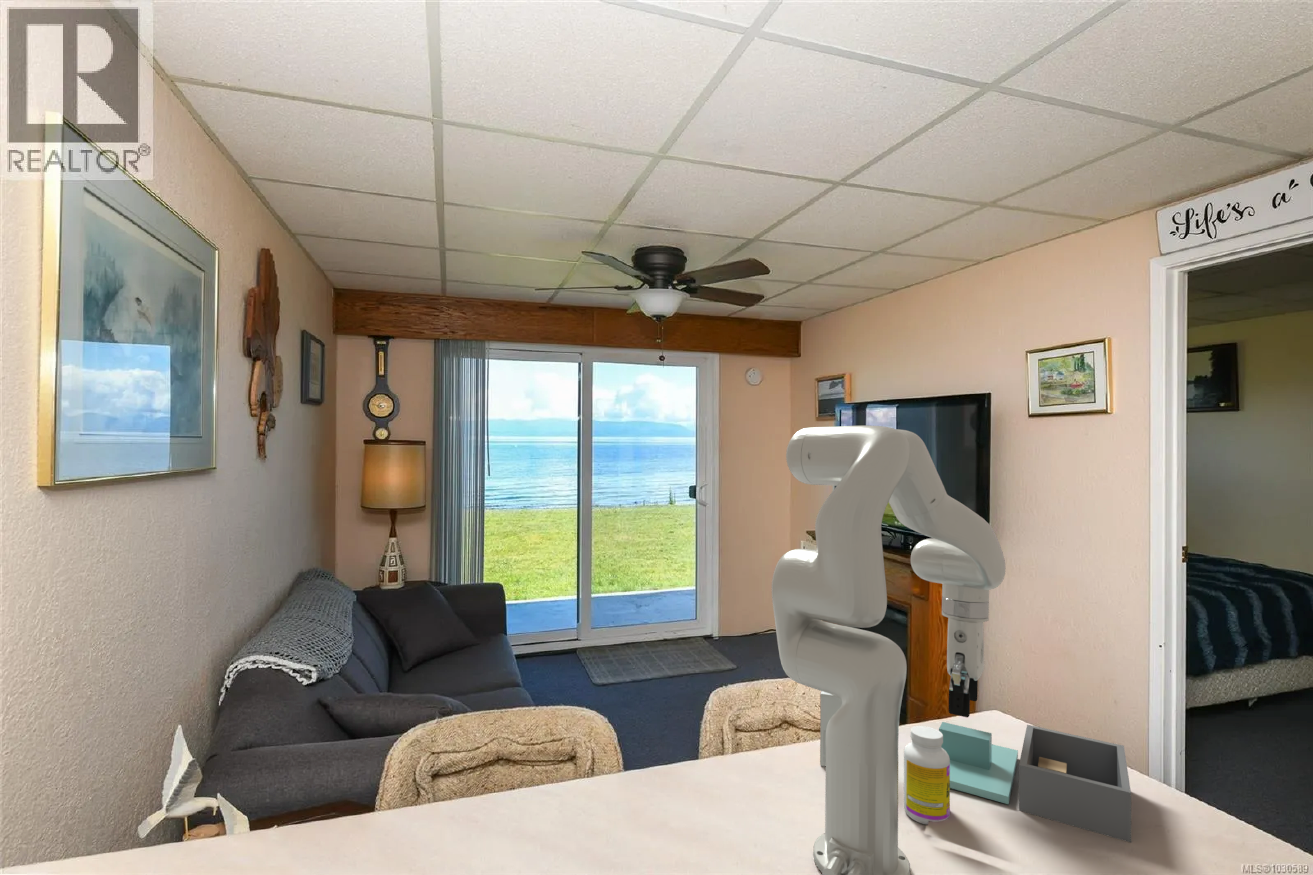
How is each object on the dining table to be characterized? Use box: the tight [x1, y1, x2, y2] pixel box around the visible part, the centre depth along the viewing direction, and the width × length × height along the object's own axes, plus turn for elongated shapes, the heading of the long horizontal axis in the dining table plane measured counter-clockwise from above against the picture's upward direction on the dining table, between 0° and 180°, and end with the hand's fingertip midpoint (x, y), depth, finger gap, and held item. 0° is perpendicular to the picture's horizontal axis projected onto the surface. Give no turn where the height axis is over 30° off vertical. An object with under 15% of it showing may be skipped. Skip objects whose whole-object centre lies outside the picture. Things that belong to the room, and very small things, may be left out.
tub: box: [1018, 724, 1132, 843], centre depth 102 cm, size 18×14×8 cm
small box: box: [819, 691, 842, 767], centre depth 116 cm, size 8×6×13 cm
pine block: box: [1038, 757, 1067, 774], centre depth 107 cm, size 4×4×3 cm
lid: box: [938, 721, 1019, 805], centre depth 111 cm, size 19×15×8 cm
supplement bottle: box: [903, 725, 951, 825], centre depth 98 cm, size 7×7×13 cm
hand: (963, 706), depth 111 cm, fingers open, 9 cm apart
